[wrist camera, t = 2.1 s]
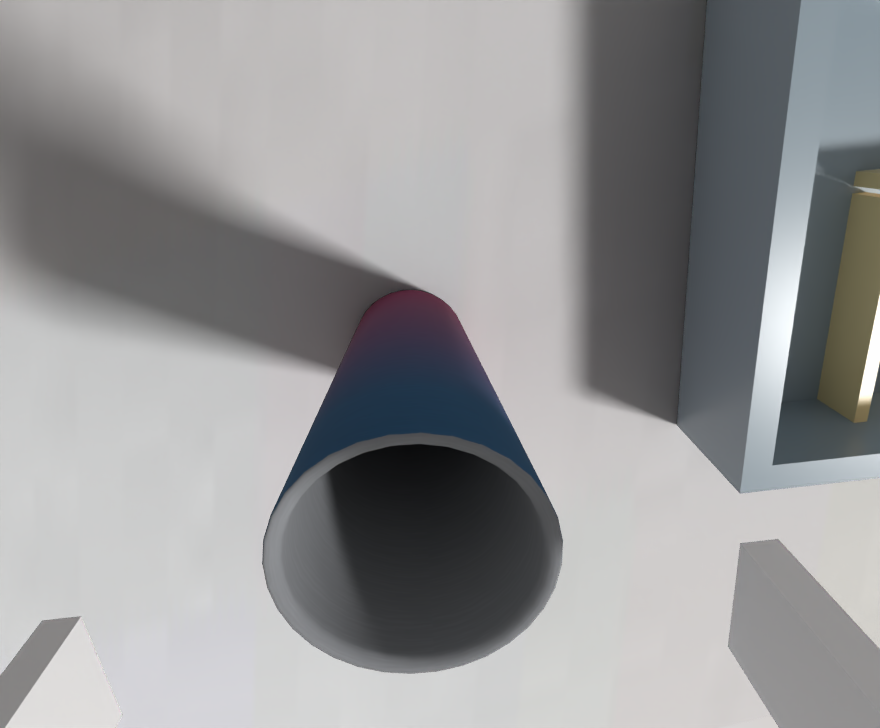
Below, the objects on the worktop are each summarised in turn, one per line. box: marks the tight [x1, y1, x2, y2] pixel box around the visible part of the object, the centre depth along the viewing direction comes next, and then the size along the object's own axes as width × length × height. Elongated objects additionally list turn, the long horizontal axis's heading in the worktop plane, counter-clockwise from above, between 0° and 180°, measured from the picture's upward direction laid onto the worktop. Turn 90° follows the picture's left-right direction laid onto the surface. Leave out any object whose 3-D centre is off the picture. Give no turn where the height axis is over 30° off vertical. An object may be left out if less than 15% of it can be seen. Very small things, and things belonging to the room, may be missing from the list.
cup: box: [262, 290, 563, 674], centre depth 20 cm, size 7×7×15 cm
